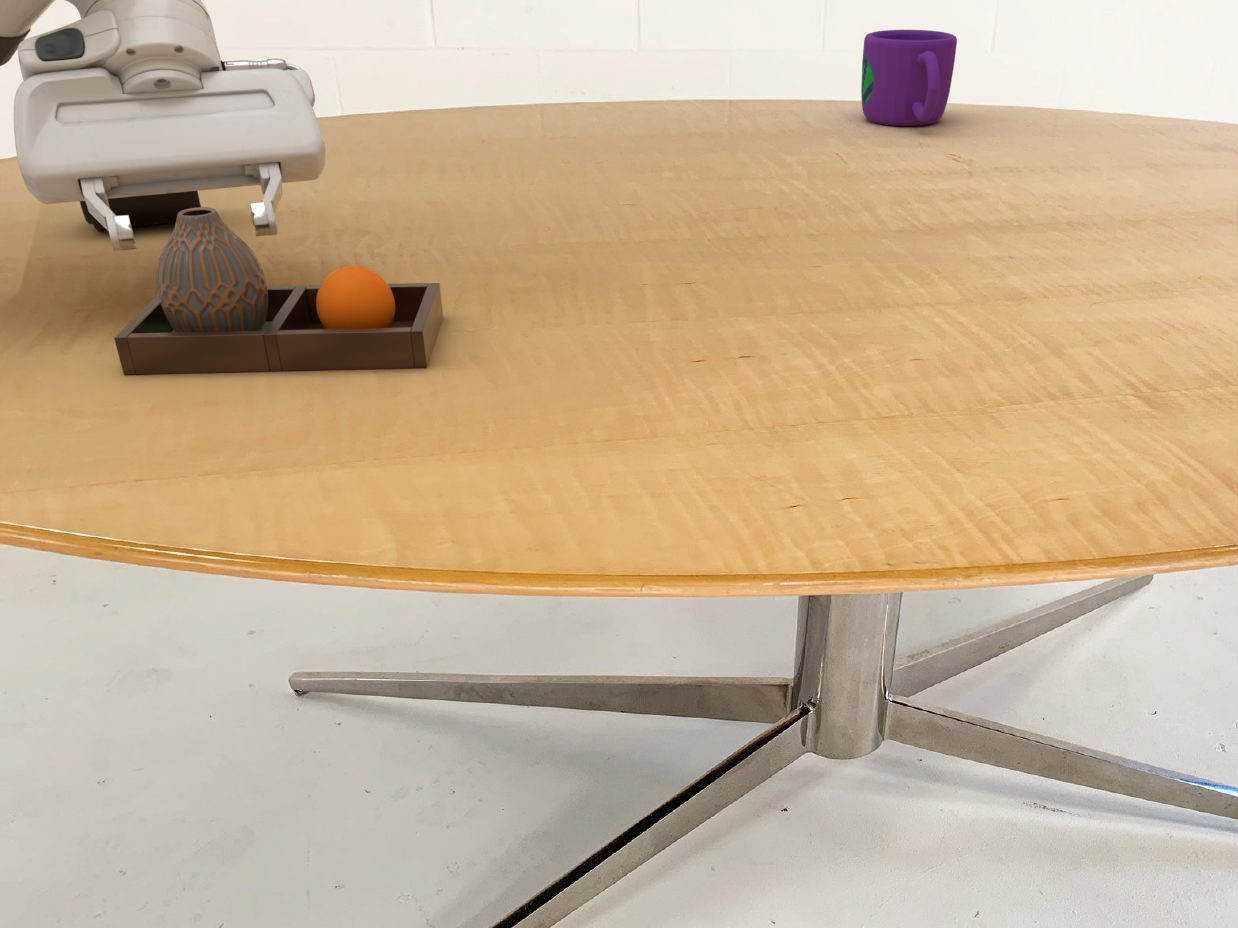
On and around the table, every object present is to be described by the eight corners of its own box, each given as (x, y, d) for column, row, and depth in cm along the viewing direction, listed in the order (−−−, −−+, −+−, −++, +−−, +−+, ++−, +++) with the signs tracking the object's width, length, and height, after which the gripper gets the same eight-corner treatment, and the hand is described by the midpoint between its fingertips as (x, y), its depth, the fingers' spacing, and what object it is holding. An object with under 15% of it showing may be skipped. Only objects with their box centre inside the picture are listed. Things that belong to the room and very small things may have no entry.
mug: (848, 113, 155) (854, 30, 149) (931, 111, 156) (940, 28, 150) (884, 139, 140) (892, 48, 135) (975, 137, 141) (987, 46, 136)
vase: (163, 335, 81) (132, 206, 77) (263, 318, 84) (239, 193, 80) (180, 366, 76) (149, 231, 72) (286, 348, 79) (262, 216, 74)
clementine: (315, 356, 78) (303, 280, 76) (330, 330, 83) (318, 257, 80) (394, 355, 79) (383, 278, 76) (404, 328, 83) (395, 255, 80)
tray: (125, 383, 76) (113, 337, 74) (172, 330, 85) (162, 288, 83) (428, 376, 77) (422, 331, 75) (444, 324, 85) (439, 282, 84)
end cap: (89, 239, 105) (68, 160, 102) (91, 220, 111) (71, 145, 107) (205, 228, 108) (189, 151, 105) (201, 210, 114) (186, 137, 110)
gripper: (305, 86, 90) (346, 246, 88) (13, 105, 83) (48, 278, 81) (304, 28, 84) (348, 198, 82) (-10, 44, 78) (27, 229, 75)
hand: (196, 238), depth 81 cm, fingers open, 8 cm apart
